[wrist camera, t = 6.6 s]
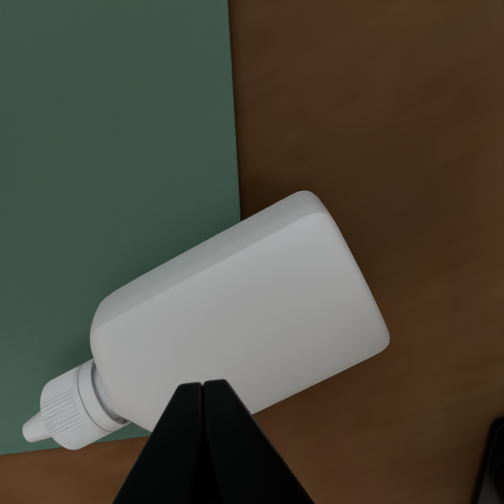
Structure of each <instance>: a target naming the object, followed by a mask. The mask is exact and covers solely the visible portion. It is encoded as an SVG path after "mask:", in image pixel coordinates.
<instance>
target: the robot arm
mask: <svg viewBox="0 0 504 504" xmlns="http://www.w3.org/2000/svg"><path fill="white" fill-rule="evenodd" d="M112 504H315V503H314V502H313V501H312V499H311V498H310V496H309V495H308V494H307V492H306V491H305V489H304V488H303V487H302V485H301V484H300V482H299V481H298V479H297V478H296V477H295V475H294V474H293V472H292V471H291V470H290V468H289V467H288V465H287V464H286V462H285V461H284V460H283V458H282V457H281V455H280V454H279V453H278V451H277V450H276V448H275V447H274V446H273V444H272V443H271V441H270V440H269V438H268V437H267V436H266V434H265V433H264V431H263V430H262V429H261V427H260V426H259V424H258V423H257V421H256V420H255V419H254V417H253V416H252V414H251V413H250V412H249V410H248V409H247V407H246V406H245V405H244V403H243V402H242V400H241V399H240V397H239V396H238V395H237V393H236V392H235V390H234V389H233V388H232V386H231V385H230V383H229V382H228V381H227V380H226V379H216V380H207V381H205V382H204V383H203V385H202V383H201V382H191V383H182V384H180V385H178V387H177V388H176V390H175V392H174V393H173V395H172V397H171V399H170V401H169V402H168V404H167V406H166V408H165V410H164V411H163V413H162V415H161V417H160V419H159V420H158V422H157V424H156V426H155V428H154V429H153V431H152V433H151V435H150V436H149V438H148V440H147V442H146V444H145V445H144V447H143V449H142V451H141V453H140V454H139V456H138V458H137V460H136V462H135V463H134V465H133V467H132V469H131V471H130V472H129V474H128V476H127V478H126V480H125V481H124V483H123V485H122V487H121V488H120V490H119V492H118V494H117V496H116V497H115V499H114V501H113V503H112ZM471 504H504V417H502V418H499V419H497V420H496V421H495V422H494V423H493V424H492V426H491V430H490V434H489V438H488V441H487V445H486V449H485V453H484V457H483V461H482V465H481V469H480V472H479V476H478V480H477V484H476V488H475V492H474V496H473V500H472V503H471Z"/></svg>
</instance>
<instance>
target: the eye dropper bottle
mask: <svg viewBox="0 0 504 504" xmlns="http://www.w3.org/2000/svg"><path fill="white" fill-rule="evenodd" d="M388 344H389V332H388V330H387V327H386V325H385V322H384V320H383V318H382V315H381V313H380V311H379V308H378V306H377V304H376V302H375V300H374V298H373V295H372V293H371V291H370V289H369V287H368V285H367V283H366V281H365V279H364V277H363V275H362V273H361V271H360V269H359V267H358V265H357V263H356V261H355V259H354V257H353V255H352V253H351V251H350V249H349V247H348V245H347V243H346V241H345V240H344V238H343V236H342V234H341V232H340V230H339V228H338V227H337V225H336V223H335V221H334V220H333V218H332V216H331V215H330V213H329V212H328V210H327V209H326V208H325V206H324V205H323V204H322V202H321V201H320V200H319V198H318V197H317V196H316V195H314V194H313V193H312V192H309V191H299V192H296V193H294V194H292V195H290V196H288V197H286V198H284V199H282V200H281V201H279V202H277V203H275V204H273V205H271V206H269V207H268V208H266V209H264V210H262V211H260V212H258V213H256V214H254V215H253V216H251V217H249V218H247V219H245V220H243V221H241V222H240V223H238V224H236V225H234V226H232V227H230V228H228V229H227V230H225V231H223V232H221V233H219V234H217V235H215V236H214V237H212V238H210V239H208V240H206V241H204V242H202V243H201V244H199V245H197V246H195V247H193V248H191V249H190V250H188V251H186V252H184V253H182V254H180V255H178V256H177V257H175V258H173V259H171V260H169V261H167V262H166V263H164V264H162V265H160V266H158V267H156V268H155V269H153V270H151V271H149V272H147V273H145V274H144V275H142V276H140V277H138V278H137V279H135V280H133V281H131V282H130V283H128V284H126V285H124V286H122V287H121V288H119V289H117V290H116V291H114V292H113V293H111V294H110V295H109V296H107V297H106V298H105V299H104V300H103V301H102V302H101V303H100V305H99V306H98V308H97V310H96V313H95V315H94V318H93V321H92V325H91V330H90V345H91V351H92V354H93V359H91V360H89V361H87V362H85V363H83V364H81V365H79V366H77V367H76V368H74V369H72V370H70V371H68V372H66V373H64V374H62V375H60V376H58V377H56V378H54V379H53V380H51V381H49V382H48V383H47V384H46V385H45V386H44V389H43V391H42V394H41V398H40V410H41V411H40V412H38V413H37V414H36V415H34V416H33V417H32V418H31V419H29V420H28V421H27V422H26V423H25V424H24V425H23V428H22V432H23V435H24V437H25V439H26V440H27V441H28V442H36V441H40V440H43V439H47V438H51V437H52V438H53V439H54V440H55V441H56V442H57V443H58V444H60V445H61V446H63V447H65V448H67V449H70V450H71V449H72V450H76V449H80V448H82V447H84V446H86V445H88V444H90V443H92V442H94V441H96V440H98V439H100V438H102V437H104V436H106V435H108V434H110V433H112V432H114V431H116V430H118V429H120V428H122V427H124V426H126V425H128V424H130V423H131V422H133V423H135V424H137V425H139V426H140V427H142V428H144V429H146V430H148V431H150V432H152V431H153V429H154V428H155V426H156V424H157V422H158V420H159V419H160V417H161V415H162V413H163V411H164V410H165V408H166V406H167V404H168V402H169V401H170V399H171V397H172V395H173V393H174V392H175V390H176V388H177V387H178V385H180V384H182V383H191V382H201V383H202V385H203V383H204V382H205V381H207V380H216V379H226V380H227V381H228V382H229V383H230V385H231V386H232V388H233V389H234V390H235V392H236V393H237V395H238V396H239V397H240V399H241V400H242V402H243V403H244V405H245V406H246V407H247V409H248V410H249V412H250V413H251V414H254V413H256V412H259V411H261V410H263V409H265V408H267V407H269V406H271V405H273V404H275V403H277V402H279V401H281V400H284V399H286V398H288V397H290V396H292V395H294V394H296V393H298V392H300V391H302V390H304V389H306V388H308V387H310V386H312V385H315V384H317V383H319V382H321V381H323V380H325V379H327V378H329V377H331V376H333V375H335V374H337V373H339V372H341V371H343V370H345V369H348V368H350V367H352V366H354V365H356V364H358V363H360V362H362V361H364V360H366V359H368V358H370V357H372V356H374V355H376V354H378V353H380V352H381V351H383V350H384V349H385V348H386V347H387V346H388Z"/></svg>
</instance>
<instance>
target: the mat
mask: <svg viewBox="0 0 504 504" xmlns="http://www.w3.org/2000/svg"><path fill="white" fill-rule="evenodd" d="M240 222H241V213H240V197H239V180H238V163H237V146H236V129H235V112H234V95H233V78H232V61H231V44H230V28H229V11H228V0H0V455H5V454H12V453H20V452H28V451H36V450H43V449H51V448H59V447H63V446H61V445H60V444H58V443H57V442H56V441H55V440H54V439H53V438H52V437H51V438H47V439H43V440H40V441H36V442H28V441H27V440H26V439H25V437H24V435H23V432H22V428H23V425H24V424H25V423H26V422H27V421H28V420H29V419H31V418H32V417H33V416H34V415H36V414H37V413H38V412H40V411H41V410H40V398H41V394H42V391H43V389H44V386H45V385H46V384H47V383H48V382H49V381H51V380H53V379H54V378H56V377H58V376H60V375H62V374H64V373H66V372H68V371H70V370H72V369H74V368H76V367H77V366H79V365H81V364H83V363H85V362H87V361H89V360H91V359H93V354H92V351H91V345H90V330H91V325H92V321H93V318H94V315H95V313H96V310H97V308H98V306H99V305H100V303H101V302H102V301H103V300H104V299H105V298H106V297H107V296H109V295H110V294H111V293H113V292H114V291H116V290H117V289H119V288H121V287H122V286H124V285H126V284H128V283H130V282H131V281H133V280H135V279H137V278H138V277H140V276H142V275H144V274H145V273H147V272H149V271H151V270H153V269H155V268H156V267H158V266H160V265H162V264H164V263H166V262H167V261H169V260H171V259H173V258H175V257H177V256H178V255H180V254H182V253H184V252H186V251H188V250H190V249H191V248H193V247H195V246H197V245H199V244H201V243H202V242H204V241H206V240H208V239H210V238H212V237H214V236H215V235H217V234H219V233H221V232H223V231H225V230H227V229H228V228H230V227H232V226H234V225H236V224H238V223H240ZM151 433H152V432H150V431H148V430H146V429H144V428H142V427H140V426H139V425H137V424H135V423H133V422H131V423H130V424H128V425H126V426H124V427H122V428H120V429H118V430H116V431H114V432H112V433H110V434H108V435H106V436H104V437H102V438H100V439H98V440H96V441H94V442H92V443H97V442H105V441H113V440H120V439H128V438H136V437H144V436H150V435H151Z"/></svg>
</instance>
